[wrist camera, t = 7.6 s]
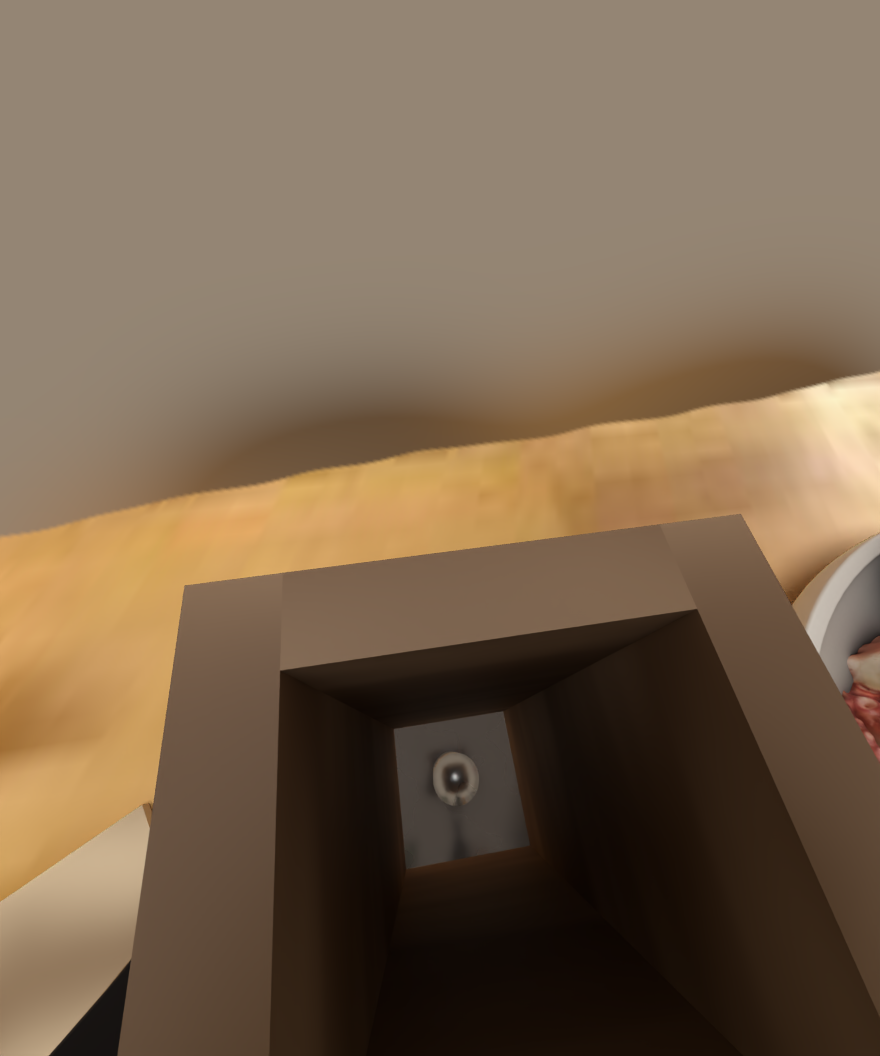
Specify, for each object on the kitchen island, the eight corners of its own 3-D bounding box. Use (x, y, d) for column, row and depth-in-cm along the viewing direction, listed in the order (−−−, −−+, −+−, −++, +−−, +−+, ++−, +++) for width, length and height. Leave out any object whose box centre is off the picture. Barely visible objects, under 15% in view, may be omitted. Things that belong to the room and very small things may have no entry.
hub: (586, 711, 20) (629, 701, 16) (517, 971, 16) (550, 1058, 11) (401, 625, 22) (394, 595, 18) (294, 838, 18) (249, 869, 13)
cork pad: (220, 1015, 15) (214, 1023, 15) (-27, 1230, 13) (-43, 1247, 13) (149, 803, 18) (142, 804, 18) (-63, 948, 16) (-77, 954, 16)
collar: (567, 877, 12) (1366, 1636, 2) (378, 914, 12) (-51, 2236, 1) (522, 680, 15) (741, 514, 4) (365, 704, 15) (183, 584, 4)
